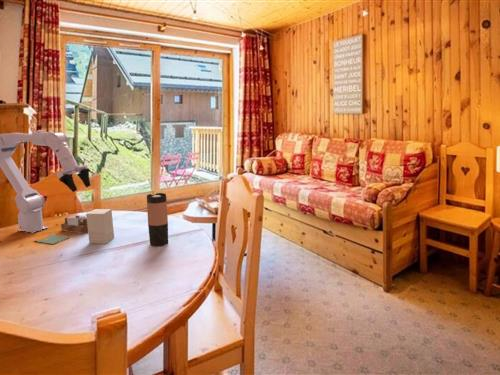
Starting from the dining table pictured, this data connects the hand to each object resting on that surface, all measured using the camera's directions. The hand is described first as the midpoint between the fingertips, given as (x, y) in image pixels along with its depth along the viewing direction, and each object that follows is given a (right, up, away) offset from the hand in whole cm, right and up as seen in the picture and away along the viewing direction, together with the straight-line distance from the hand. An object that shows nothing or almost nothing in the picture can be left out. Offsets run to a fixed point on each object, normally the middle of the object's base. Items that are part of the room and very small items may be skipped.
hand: (82, 188), depth 146 cm
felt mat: (-11, -21, -4) cm, 24 cm away
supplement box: (+10, -22, -4) cm, 24 cm away
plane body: (-6, -19, +8) cm, 21 cm away
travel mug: (+35, -22, -7) cm, 42 cm away
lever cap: (-6, -16, +8) cm, 18 cm away
